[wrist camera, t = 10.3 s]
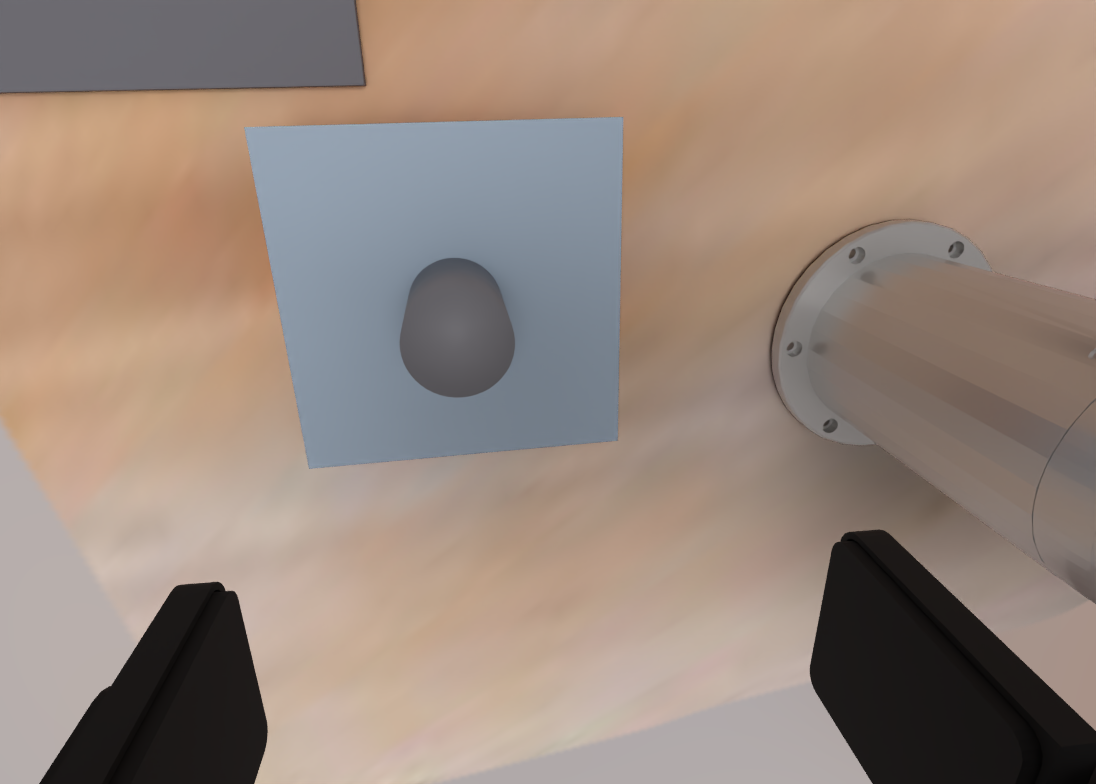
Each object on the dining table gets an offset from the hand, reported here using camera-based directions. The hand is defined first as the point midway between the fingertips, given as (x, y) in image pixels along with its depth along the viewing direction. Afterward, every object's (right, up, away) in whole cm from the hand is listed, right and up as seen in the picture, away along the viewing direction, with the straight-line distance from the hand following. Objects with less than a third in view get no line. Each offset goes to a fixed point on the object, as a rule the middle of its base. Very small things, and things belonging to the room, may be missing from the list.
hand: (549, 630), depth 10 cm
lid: (-4, +7, +16) cm, 18 cm away
